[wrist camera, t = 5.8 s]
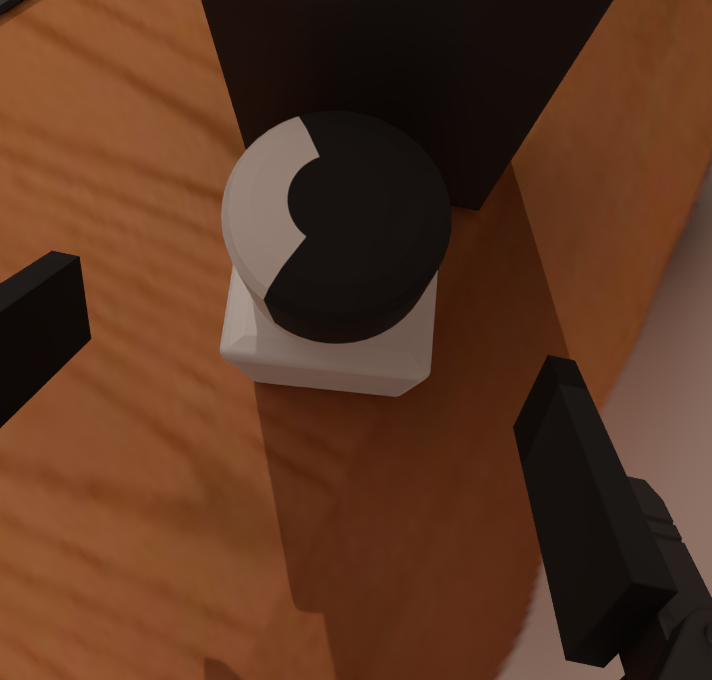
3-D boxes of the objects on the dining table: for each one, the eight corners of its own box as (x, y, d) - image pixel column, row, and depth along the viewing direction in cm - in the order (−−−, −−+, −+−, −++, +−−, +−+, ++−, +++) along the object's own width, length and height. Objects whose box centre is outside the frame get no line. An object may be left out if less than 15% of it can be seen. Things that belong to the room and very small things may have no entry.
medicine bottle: (414, 255, 25) (487, 91, 13) (402, 398, 24) (472, 357, 12) (271, 238, 25) (216, 57, 13) (250, 382, 23) (167, 324, 12)
